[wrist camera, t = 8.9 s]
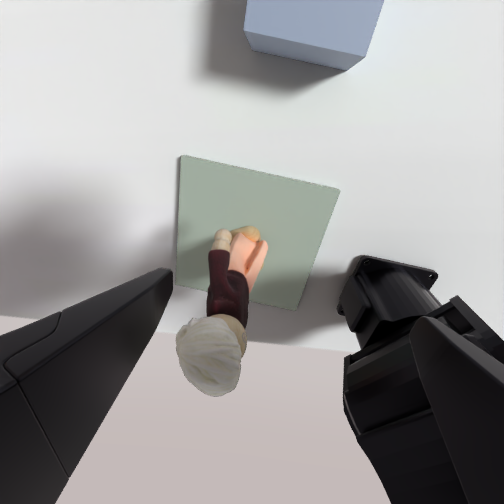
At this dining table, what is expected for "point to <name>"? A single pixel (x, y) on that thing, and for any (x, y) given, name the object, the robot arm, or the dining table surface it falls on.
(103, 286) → the dining table surface
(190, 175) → the sage mat
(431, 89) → the dining table surface
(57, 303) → the dining table surface
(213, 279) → the grandmother figurine
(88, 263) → the dining table surface
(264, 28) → the slate-blue block
